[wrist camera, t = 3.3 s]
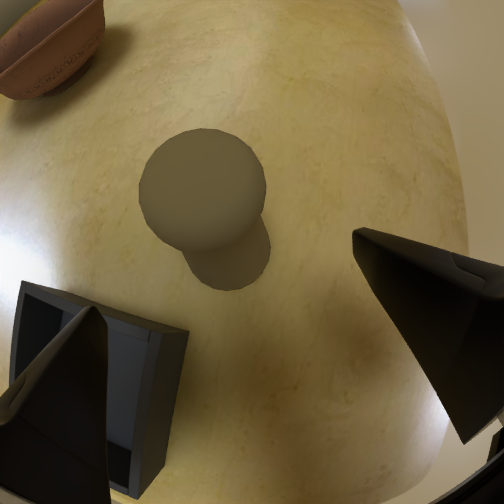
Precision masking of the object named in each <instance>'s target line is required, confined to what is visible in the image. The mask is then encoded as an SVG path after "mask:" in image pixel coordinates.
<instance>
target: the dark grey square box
mask: <svg viewBox="0 0 504 504" xmlns="http://www.w3.org/2000/svg"><path fill="white" fill-rule="evenodd" d="M91 305H94V306H96V307H97V308H98V310H99V311H100V313H101V314H102V316H103V317H104V319H105V320H106V322H107V324H108V382H107V410H106V435H107V462H108V475H109V486H110V488H112V489H114V490H116V491H118V492H120V493H123V494H125V495H128V496H129V497H132V498H134V499H137V500H138V499H139V498H140V497H141V495H142V494H143V493H144V491H145V490H146V489H147V488H148V486H149V485H150V484H151V483H152V481H153V480H154V479H155V477H156V476H157V475H158V473H159V472H160V471H161V470H162V468H163V467H164V465H165V458H166V452H167V446H168V440H169V434H170V428H171V422H172V416H173V411H174V405H175V400H176V395H177V389H178V384H179V379H180V374H181V369H182V364H183V359H184V354H185V349H186V345H187V340H188V335H189V331H186V330H182V329H179V328H175V327H171V326H168V325H164V324H161V323H157V322H154V321H151V320H147V319H144V318H141V317H138V316H134V315H131V314H128V313H125V312H122V311H119V310H116V309H113V308H110V307H107V306H104V305H101V304H99V303H96V302H93V301H90V300H87V299H85V298H82V297H79V296H77V295H74V294H71V293H69V292H66V291H62V290H58V289H54V288H50V287H46V286H42V285H38V284H34V283H30V282H27V281H23V280H22V281H21V286H20V291H19V296H18V301H17V307H16V313H15V319H14V326H13V334H12V343H11V355H10V371H9V387H10V386H11V385H12V384H13V382H14V381H15V380H16V379H17V378H18V377H19V376H20V375H21V373H22V372H23V371H24V370H25V369H26V368H27V367H28V366H29V364H30V363H31V362H32V361H33V360H34V359H35V358H36V357H37V356H38V355H39V353H40V352H41V351H42V350H43V349H44V348H45V347H46V346H47V345H48V344H49V343H50V342H51V341H52V340H53V338H54V337H55V336H56V335H57V334H58V333H59V332H60V331H61V330H62V329H63V328H64V327H65V326H66V325H67V324H68V323H69V322H70V321H71V320H72V319H73V318H74V317H75V316H76V315H77V314H78V313H79V312H80V311H81V310H82V309H83V308H84V307H87V306H91Z"/></svg>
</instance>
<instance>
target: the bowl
mask: <svg viewBox="0 0 504 504" xmlns="http://www.w3.org/2000/svg"><path fill="white" fill-rule="evenodd" d="M104 33H105V17H104V9H103V0H49V1H47V2H46V3H44V4H42V5H41V6H39V7H38V8H36V9H35V10H33V11H32V12H30V13H29V14H28V15H27V16H25V17H24V18H23V19H22V20H21V21H20V22H18V23H17V24H16V25H15V26H14V27H13V28H12V29H11V30H10V31H9V32H8V33H7V34H6V35H5V36H4V37H3V38H2V39H1V40H0V93H1V94H3V95H4V96H6V97H8V98H10V99H14V100H24V99H31V98H35V97H38V96H40V95H43V96H44V97H46V96H54V95H56V94H58V93H60V92H62V91H64V90H65V89H67V88H68V87H70V86H71V85H73V84H74V83H75V82H76V81H77V80H78V79H79V78H81V77H82V76H83V74H84V73H85V72H86V71H87V70H88V68H89V67H90V65H91V63H92V61H93V53H94V52H95V51H96V49H97V47H98V45H99V43H100V41H101V40H102V38H103V35H104Z"/></svg>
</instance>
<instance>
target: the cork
mask: <svg viewBox="0 0 504 504" xmlns="http://www.w3.org/2000/svg"><path fill="white" fill-rule="evenodd" d="M265 195H266V181H265V176H264V171H263V167H262V165H261V163H260V162H259V160H258V158H257V157H256V155H255V154H254V152H253V150H252V149H251V147H249V146H248V145H247V144H246V143H244V142H243V141H242V140H240V139H239V138H238V137H236V136H234V135H231V134H229V133H226V132H223V131H220V130H217V129H202V128H200V129H195V130H190V131H185V132H183V133H180V134H178V135H176V136H174V137H172V138H170V139H168V140H167V141H166V142H165V143H163V144H162V145H161V146H160V147H159V148H157V149H156V150H155V152H154V153H153V154H152V156H151V157H150V159H149V160H148V161H147V163H146V165H145V168H144V171H143V174H142V177H141V180H140V183H139V203H140V206H141V209H142V212H143V215H144V218H145V220H146V223H147V225H148V226H149V227H150V228H151V230H152V231H153V232H154V233H155V234H156V235H157V237H158V238H160V239H161V240H162V241H163V242H165V243H167V244H169V245H170V246H172V247H174V248H176V249H178V250H180V251H182V253H183V255H184V257H185V259H186V261H187V263H188V264H189V266H190V268H191V270H192V272H193V274H194V275H195V276H196V277H197V278H198V279H199V280H200V281H201V282H202V283H204V284H206V285H208V286H210V287H211V288H213V289H219V290H225V291H228V290H235V289H241V288H243V287H245V286H247V285H249V284H251V283H253V282H254V281H255V280H256V279H257V278H258V277H259V276H260V275H261V274H262V273H263V271H264V269H265V267H266V265H267V263H268V261H269V255H270V249H271V248H270V242H269V236H268V233H267V230H266V228H265V225H264V223H263V220H262V218H261V215H260V214H261V213H262V211H263V207H264V201H265Z"/></svg>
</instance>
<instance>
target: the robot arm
mask: <svg viewBox="0 0 504 504" xmlns="http://www.w3.org/2000/svg"><path fill="white" fill-rule="evenodd" d="M352 243H353V255H354V258H355V260H356V262H357V263H358V265H359V267H360V269H361V271H362V273H363V274H364V276H365V278H366V280H367V282H368V284H369V286H370V287H371V289H372V291H373V293H374V294H375V296H376V297H377V299H378V300H379V302H380V303H381V305H382V306H383V308H384V309H385V311H386V312H387V314H388V315H389V317H390V318H391V320H392V321H393V323H394V324H395V326H396V327H397V329H398V330H399V332H400V334H401V335H402V337H403V338H404V340H405V341H406V343H407V345H408V346H409V348H410V349H411V351H412V353H413V354H414V356H415V358H416V359H417V361H418V363H419V364H420V366H421V368H422V369H423V371H424V373H425V374H426V376H427V378H428V379H429V381H430V383H431V385H432V386H433V388H434V390H435V392H436V394H437V396H438V397H439V399H440V401H441V403H442V405H443V407H444V408H445V410H446V412H447V414H448V416H449V418H450V420H451V422H452V424H453V425H454V427H455V429H456V431H457V433H458V435H459V437H460V439H461V441H462V443H463V444H464V445H465V444H466V443H467V442H469V441H470V440H471V439H473V438H474V437H475V436H477V435H478V434H479V433H481V432H482V431H483V430H484V429H485V428H487V427H488V426H489V425H490V424H492V423H493V422H494V421H495V420H496V419H497V418H498V419H499V421H500V422H501V424H502V426H503V428H501V429H500V430H499V431H498V432H497V433H496V434H495V435H493V438H492V442H491V447H490V451H489V455H488V459H487V463H486V464H485V465H484V466H483V467H481V468H480V469H479V470H478V471H476V472H475V473H474V474H472V475H471V476H470V477H468V478H467V479H466V480H464V481H463V482H462V483H460V484H458V485H457V486H456V487H454V488H453V489H451V490H450V491H448V492H447V493H445V494H444V495H442V496H440V497H439V498H437V499H435V500H434V501H432V502H431V503H429V504H504V267H503V266H499V265H496V264H492V263H488V262H484V261H480V260H477V259H473V258H470V257H466V256H463V255H460V254H457V253H453V252H451V253H450V251H447V250H444V249H440V248H437V247H434V246H430V245H427V244H423V243H420V242H416V241H413V240H409V239H406V238H402V237H399V236H395V235H392V234H388V233H384V232H380V231H377V230H373V229H369V228H365V227H362V228H359V229H356V230H354V231H353V233H352ZM107 382H108V324H107V322H106V320H105V319H104V317H103V316H102V314H101V313H100V311H99V310H98V308H97V307H96V306H94V305H91V306H87V307H84V308H83V309H82V310H81V311H80V312H79V313H78V314H77V315H76V316H75V317H74V318H73V319H72V320H71V321H70V322H69V323H68V324H67V325H66V326H65V327H64V328H63V329H62V330H61V331H60V332H59V333H58V334H57V335H56V336H55V337H54V338H53V340H52V341H51V342H50V343H49V344H48V345H47V346H46V347H45V348H44V349H43V350H42V351H41V352H40V353H39V355H38V356H37V357H36V358H35V359H34V360H33V361H32V362H31V363H30V364H29V366H28V367H27V368H26V369H25V370H24V371H23V372H22V373H21V375H20V376H19V377H18V378H17V379H16V380H15V381H14V382H13V384H12V385H11V386H10V387H9V388H8V389H7V390H6V391H5V392H4V393H3V394H2V396H1V397H0V504H111V496H110V486H109V475H108V462H107V435H106V410H107Z"/></svg>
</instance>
